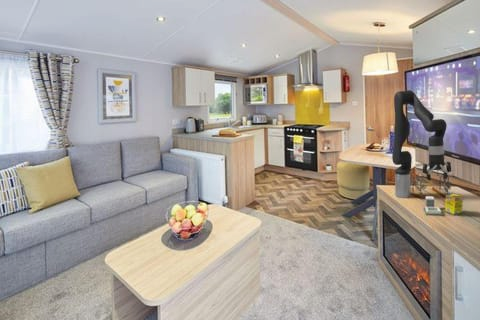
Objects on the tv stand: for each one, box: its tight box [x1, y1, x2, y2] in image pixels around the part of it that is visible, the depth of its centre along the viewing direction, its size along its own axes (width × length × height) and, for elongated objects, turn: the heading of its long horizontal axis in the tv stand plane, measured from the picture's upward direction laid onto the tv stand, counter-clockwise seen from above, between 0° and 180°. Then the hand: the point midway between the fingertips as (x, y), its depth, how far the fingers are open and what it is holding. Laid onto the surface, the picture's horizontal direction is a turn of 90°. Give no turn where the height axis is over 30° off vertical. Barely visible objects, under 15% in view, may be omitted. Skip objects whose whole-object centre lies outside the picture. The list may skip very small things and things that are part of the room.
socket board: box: [423, 206, 444, 217], centre depth 164 cm, size 8×8×2 cm
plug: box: [424, 195, 435, 208], centre depth 170 cm, size 4×4×7 cm
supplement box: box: [444, 193, 464, 216], centre depth 160 cm, size 6×6×11 cm
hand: (437, 179), depth 161 cm, fingers open, 8 cm apart
